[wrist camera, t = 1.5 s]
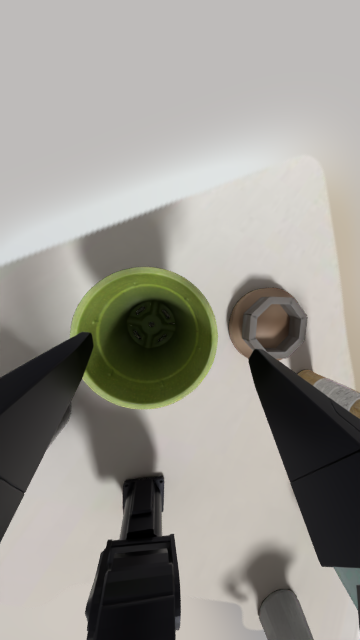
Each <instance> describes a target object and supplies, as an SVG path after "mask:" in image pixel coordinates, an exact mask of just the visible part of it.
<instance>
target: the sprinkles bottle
mask: <svg viewBox="0 0 360 640" xmlns="http://www.w3.org/2000/svg"><path fill="white" fill-rule="evenodd" d="M298 375H299V376H300V377H302V378H303V379H304V380H306V381H307V382H309V383H310V384H311V385H313V386H314V387H316V388H317V389H318V390H320V391H321V392H322V393H324V394H325V395H327V396H328V397H329V398H331V399H332V400H334V401H335V402H336V403H338V404H339V405H341V406H342V407H343V408H345V409H346V410H348V411H349V412H351V413H352V414H353V415H355V416H356V417H358V418H359V419H360V393H359V392H357V391H355V390H353V389H351V388H349V387H347V386H344V385H342V384H340V383H337V382H335V381H333V380H331V379H328V378H325V377H323V376H321V375H318V374H316V373H314V372H313V371H311V370H303V371H301V372H300V373H298Z"/></svg>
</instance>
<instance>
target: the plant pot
mask: <svg viewBox="0 0 360 640" xmlns="http://www.w3.org/2000/svg"><path fill="white" fill-rule="evenodd" d="M142 307H144V308H145V309H144V310H143V311H141V312H140V313H139V314H138V315H137V313H136V311H137V310H139V309H140V308H142ZM163 310H166V311H167V313H168V314H169V316H170V318H167V317H166V315H165V314H164V313H163V312H162V311H163ZM150 322H153V323H154V326H153V327H150V326H149V323H150ZM170 323H174V324H170ZM131 325H132V326H131ZM134 331H137V333H138V334H139V336H140V337H141V339H138V338H137V337H136V336H135V334H134ZM81 332H90V333H91V334H92V337H93V344H94V347H93V351H92V353H91V356H90V359H89V362H88V364H87V367H86V370H85V373H84V375H83V377H82V379H83V380H84V382H85V383H86V384H87V385H88V386H89V387H90V388H91V389H92V390H93V391H94V392H95V393H96V394H98V395H99V396H101V397H102V398H104V399H105V400H107V401H109V402H111V403H114V404H116V405H119V406H122V407H126V408H131V409H154V408H160V407H164V406H167V405H170V404H172V403H175V402H177V401H178V400H181V399H182V398H184V397H185V396H187V395H188V394H189V393H191V392H192V391H193V390H194V389H195V388H196V387H197V386H198V385H199V384H200V383H201V382H202V380H203V379H204V378H205V376H206V375H207V373H208V372H209V370H210V368H211V366H212V363H213V361H214V358H215V354H216V350H217V342H218V333H217V325H216V320H215V316H214V313H213V311H212V309H211V306H210V305H209V303H208V301H207V299H206V298H205V297H204V295H203V294H202V293H201V292H200V290H199V289H198V288H197V287H196V286H194V285H193V284H192V283H191V282H190V281H188V280H187V279H185V278H184V277H182V276H180V275H178V274H176V273H174V272H171V271H168V270H165V269H161V268H155V267H135V268H129V269H125V270H121V271H118V272H115V273H113V274H111V275H109V276H107V277H106V278H104V279H102V280H101V281H99V282H98V283H97V284H96V285H94V286H93V287H92V288H91V289H90V290H89V291H88V292H87V293H86V295H85V296H84V297H83V299H82V300H81V302H80V303H79V305H78V307H77V309H76V311H75V313H74V316H73V319H72V324H71V330H70V338H72V337H73V336H75V335H77V334H79V333H81ZM165 334H166V335H167V336H166V337H165V338H164V339H162V340H161V341H158V339H160V338H161V337H162V336H164V335H165Z"/></svg>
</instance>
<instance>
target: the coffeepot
mask: <svg viewBox="0 0 360 640" xmlns="http://www.w3.org/2000/svg"><path fill="white" fill-rule="evenodd" d="M259 619H260V622H261V624H262V627H263V629H264V632H265V634H266V636H267V639H268V640H314V639H313V637H312V634H311V631H310V629H309V626H308V624H307V621H306V618H305V616H304V613H303V610H302V608H301V605H300V602H299V600H298V599H297V597H296V596H295V594H294V593H293V592H292V591H290V590H287V589H282V590H278V591H275V592H273V593H272V594H270V595H269V596H268V597H267V598H266V599H265V600H264V601H263V603H262V605H261V607H260V615H259Z"/></svg>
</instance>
